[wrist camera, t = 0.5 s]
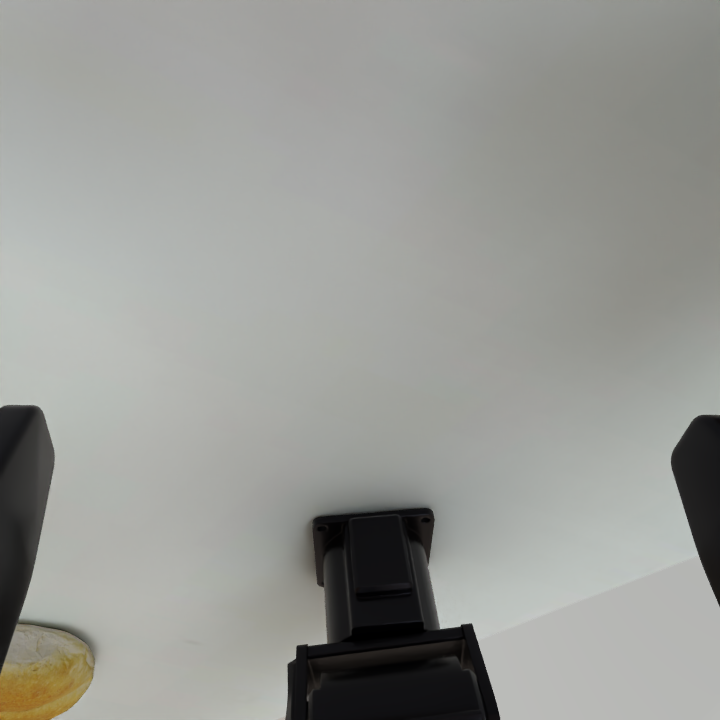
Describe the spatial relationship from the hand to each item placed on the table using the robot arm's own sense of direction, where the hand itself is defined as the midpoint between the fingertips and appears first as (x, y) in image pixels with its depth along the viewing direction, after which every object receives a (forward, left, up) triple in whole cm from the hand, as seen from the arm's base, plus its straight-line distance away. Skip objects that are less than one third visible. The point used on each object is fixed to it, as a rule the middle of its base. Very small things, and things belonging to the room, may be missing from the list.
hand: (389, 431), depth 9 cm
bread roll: (-34, +20, -14) cm, 42 cm away
